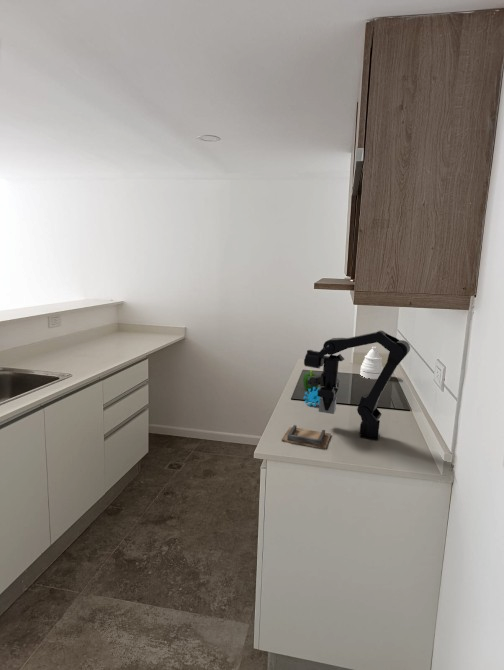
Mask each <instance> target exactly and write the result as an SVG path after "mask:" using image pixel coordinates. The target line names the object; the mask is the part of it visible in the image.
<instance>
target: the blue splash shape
mask: <svg viewBox="0 0 504 670" xmlns="http://www.w3.org/2000/svg"><path fill="white" fill-rule="evenodd" d="M320 388H321V387H320V386H318V388H317V389H316V388H315V387H313V390H311V389H308V390H307V391H305V392H304V396H303V400H304V403H305V404H308V405H307V406H308V407H311V406H312V407H314V408H316V406H317V405H318V406H319V400H320V397H319V396H317V393H318V390H319V389H320ZM308 392H309V394H308Z"/></svg>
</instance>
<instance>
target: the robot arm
mask: <svg viewBox="0 0 504 670" xmlns="http://www.w3.org/2000/svg"><path fill="white" fill-rule="evenodd" d="M375 343H378V344H379V345H380V346H381V347H383V348H384V349H385V350H387V351H388V352H389V353H388V357H387V360H386V363H385V365H384V367H383V370H382V372H381V374H380V376H379V377H378V379H376V381H375V382H374V384H373V386H372V388H371V390H370V392H369V394H368V393H367V392H365V393H364V394H363V395H362V396H361V398H360V401H359V402H358V403H357V404H356V406H357V408H356V411H357V414H358V415H359V417H360V418H361V421H360V425H359V436H360V438H363V439H368V440H369V439H370V440H375V441H378V440H379V435H380V433H379V431H380V423H381V422H380V421H381V420H380V418H381V416H382V413H381V411H380V410H379V408H377V407H378V404H379V401H380V397H381V395H382V393H383V392H384V390H385V388H386V387H387V385H388V383H389V381H390V379H391V377H392V376H393V374H394V372H395V371H396V369H397V367H398V366H399V365H400V363H401V362H402V361H403V360H404V359H405V358H406V356H407V355H408V354H409V352H410V351H411V346H410V344H409V342H407V341H406V340H404V339H403V340H401V339H399V338H397V337H394V336H393V335H390V334H388V333H387V332H385V331H384V330H377V331H374V332H370V333H366V334H360V335H356V336H352V337H332V338H329V339H327V340H326V341H325V342H324V343H323V347H322V348H321V350H319V351H317V350H313V349H308V350H306V353H305V356H304V359H303V364H304V367H309V368H312V369H313V368H314V369H321V367H323V369H322V373H320V374H315V375H316V376H312V377H309V378H308V384H309V386H310V387H313V386H316V385H318V386H319V388H320V389H319V390H318V393H317V396H319V397H322V398H323V402H324V407H325V410H326V411H328V409H329V407H330V405H331V403H332V401H333V399H334V397H336V395H337V392H338V390H339V388H340V382H341V381H340V380H339V379H338V377H339V365H340V362H343V361H345V357H343V356H342V354H341V352H343V351H344V350H347V349H350V348H351V349H352V348H356V347H360V346H366V345H371V344H372V345H373V344H375ZM337 353H339V354H337ZM335 354H337V355H335ZM327 355H329V356H327Z"/></svg>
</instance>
